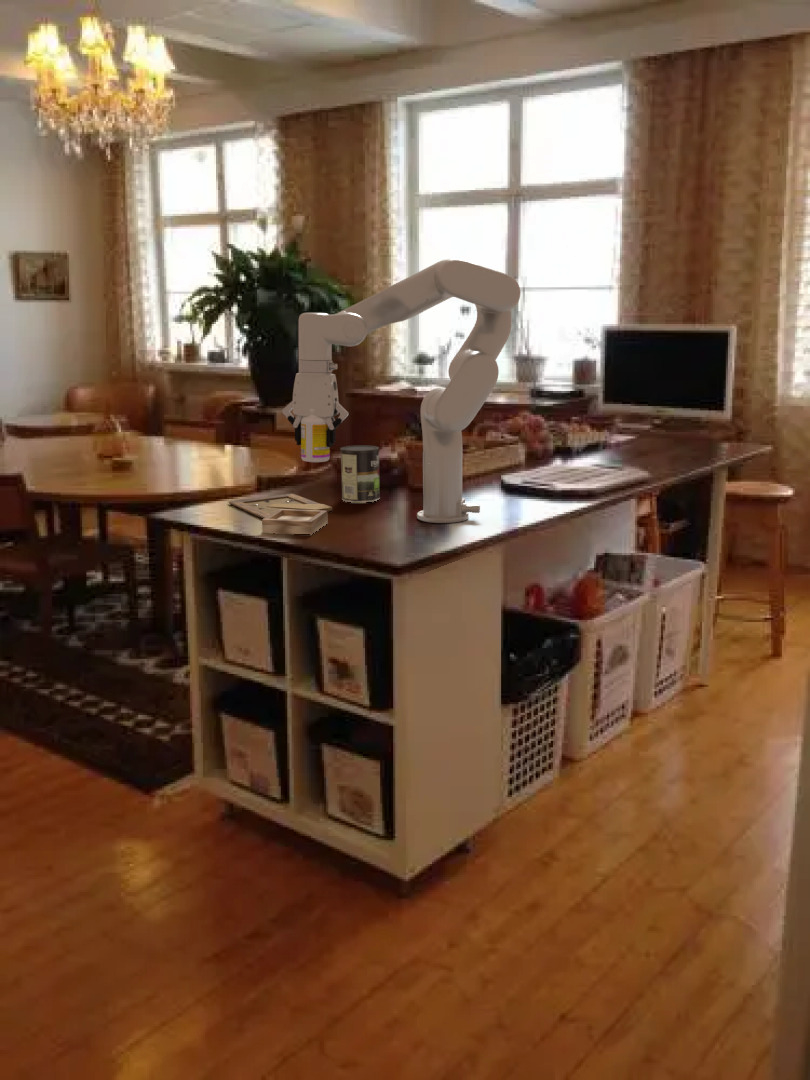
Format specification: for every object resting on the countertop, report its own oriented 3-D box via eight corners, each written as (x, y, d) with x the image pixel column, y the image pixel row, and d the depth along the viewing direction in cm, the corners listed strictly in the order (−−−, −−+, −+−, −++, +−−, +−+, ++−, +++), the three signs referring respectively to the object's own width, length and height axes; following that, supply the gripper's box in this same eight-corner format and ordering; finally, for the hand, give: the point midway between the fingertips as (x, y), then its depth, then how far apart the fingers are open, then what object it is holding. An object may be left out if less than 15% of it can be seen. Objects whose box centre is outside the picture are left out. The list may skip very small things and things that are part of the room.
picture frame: (332, 514, 248) (292, 498, 267) (332, 507, 247) (292, 492, 267) (265, 523, 238) (228, 507, 258) (264, 516, 238) (228, 500, 257)
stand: (327, 523, 234) (327, 510, 233) (311, 535, 223) (311, 521, 222) (280, 521, 237) (280, 508, 236) (262, 533, 226) (261, 519, 225)
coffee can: (383, 496, 265) (382, 445, 262) (375, 504, 256) (374, 451, 252) (347, 495, 267) (345, 444, 264) (337, 503, 258) (335, 450, 254)
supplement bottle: (334, 460, 230) (335, 405, 227) (320, 463, 224) (320, 407, 221) (310, 457, 232) (310, 403, 229) (295, 461, 227) (295, 405, 224)
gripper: (356, 368, 225) (355, 445, 229) (285, 365, 229) (285, 441, 233) (346, 370, 218) (345, 449, 222) (273, 367, 222) (274, 445, 226)
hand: (315, 444), depth 227 cm, fingers closed on supplement bottle, 6 cm apart
